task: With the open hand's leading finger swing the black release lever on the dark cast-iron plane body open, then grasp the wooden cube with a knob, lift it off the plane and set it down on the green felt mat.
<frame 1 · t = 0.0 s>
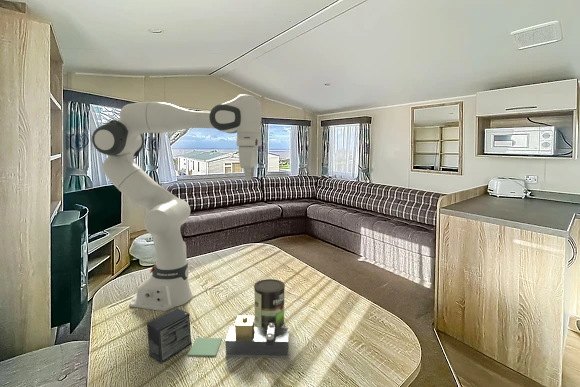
hand: (249, 179, 116), 48 cm above the table, fingers open, 8 cm apart
lever: (270, 334, 90), point 7 cm above the table, hinge at 0.0°
plane body: (258, 349, 94), on the table
wooden cube with knob: (245, 332, 94), point 5 cm above the table, touching plane body
coffee can: (269, 324, 108), on the table
mat: (205, 347, 95), on the table
small box: (170, 350, 93), on the table
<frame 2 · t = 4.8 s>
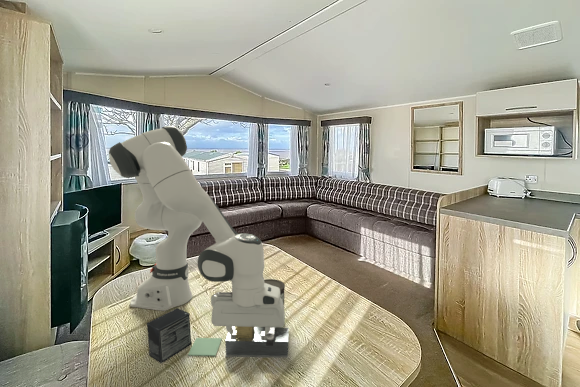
hand: (248, 339, 88), 7 cm above the table, fingers open, 7 cm apart
lever: (270, 334, 90), point 7 cm above the table, hinge at 0.1°, touching gripper
everything else where it was.
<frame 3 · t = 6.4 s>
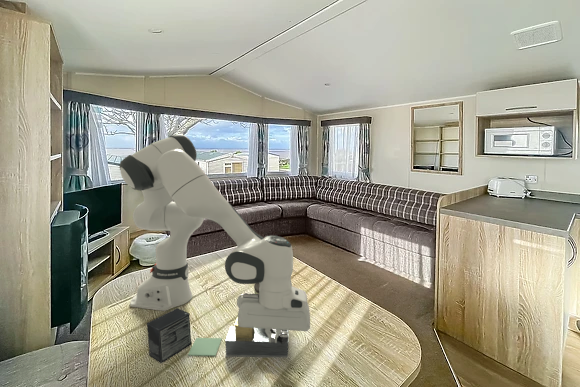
hand: (272, 341, 88), 6 cm above the table, fingers closed
lever: (277, 333, 90), point 7 cm above the table, hinge at 36.4°, touching gripper
everything else where it was.
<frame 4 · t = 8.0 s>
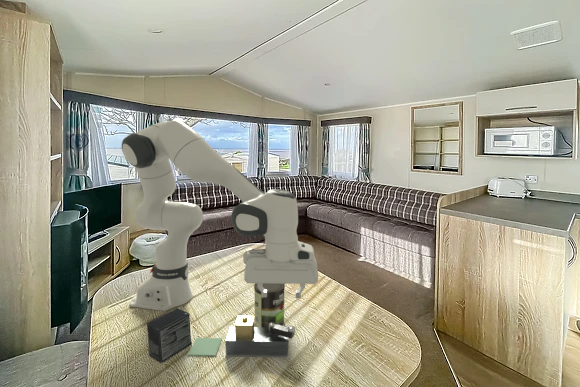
hand: (281, 297, 87), 19 cm above the table, fingers open, 8 cm apart
lever: (281, 330, 92), point 7 cm above the table, hinge at 66.4°
everything else where it was.
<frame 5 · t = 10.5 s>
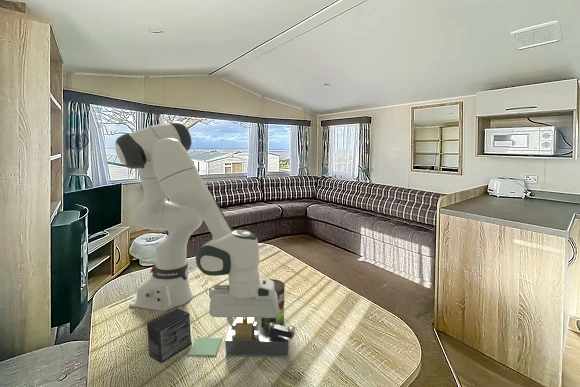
hand: (244, 329, 94), 6 cm above the table, fingers closed on wooden cube with knob, 5 cm apart
wooden cube with knob: (244, 332, 94), point 5 cm above the table, touching gripper, plane body
everything else where it was.
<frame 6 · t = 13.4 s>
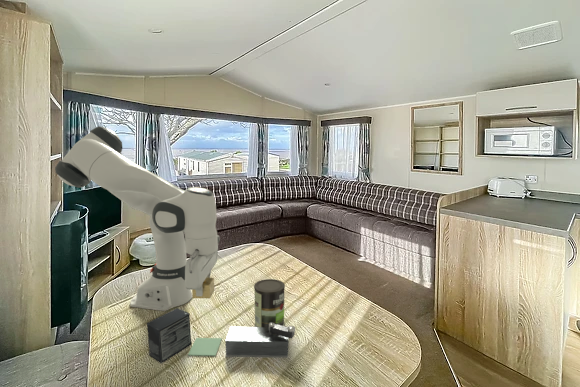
hand: (203, 289, 92), 18 cm above the table, fingers closed on wooden cube with knob, 5 cm apart
wooden cube with knob: (203, 294, 92), point 17 cm above the table, touching gripper
everything else where it was.
when the fingers open (3 cm above the table, at t = 16.4 s): wooden cube with knob drops 2 cm, resting on mat.
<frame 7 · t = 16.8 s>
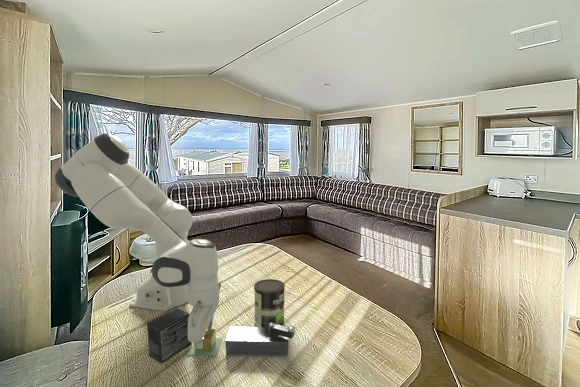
hand: (205, 337, 94), 3 cm above the table, fingers open, 8 cm apart
wooden cube with knob: (205, 346, 95), resting on mat
everything else where it was.
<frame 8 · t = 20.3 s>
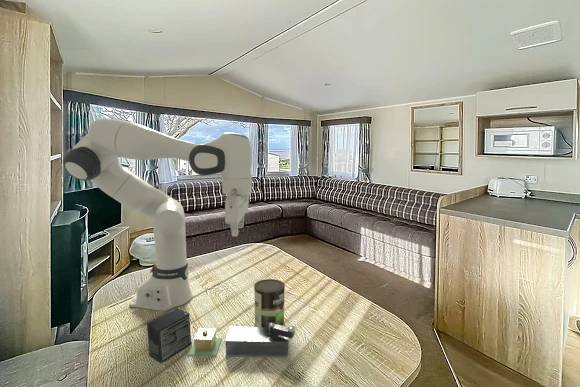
hand: (237, 231, 97), 34 cm above the table, fingers open, 8 cm apart
nothing on the table moved.
at the end: lever at +66° (first picture: +0°); wooden cube with knob inside the target area on the mat (0.0 cm from its centre), point 0.4 cm above the mat's base; wooden cube with knob touching mat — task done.
